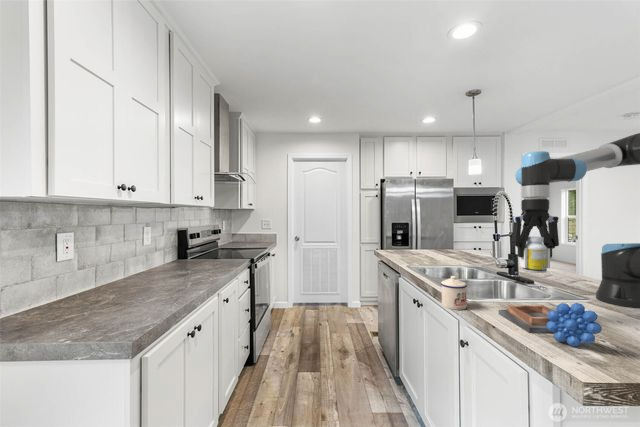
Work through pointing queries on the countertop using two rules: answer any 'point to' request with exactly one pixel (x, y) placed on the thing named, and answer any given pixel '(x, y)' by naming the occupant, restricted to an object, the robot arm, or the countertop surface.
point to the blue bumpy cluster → (573, 324)
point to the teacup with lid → (454, 294)
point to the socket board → (528, 317)
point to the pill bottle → (536, 255)
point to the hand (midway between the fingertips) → (534, 267)
